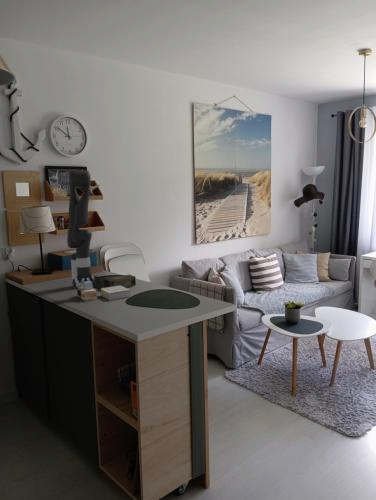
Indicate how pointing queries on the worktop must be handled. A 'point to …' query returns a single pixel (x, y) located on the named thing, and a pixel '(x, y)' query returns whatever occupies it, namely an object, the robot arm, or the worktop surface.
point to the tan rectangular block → (88, 294)
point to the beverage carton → (119, 281)
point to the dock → (115, 292)
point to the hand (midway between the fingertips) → (85, 295)
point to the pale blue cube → (87, 285)
